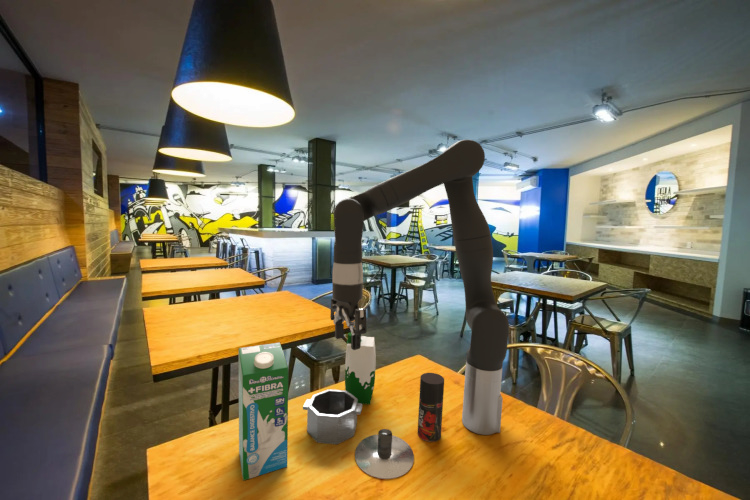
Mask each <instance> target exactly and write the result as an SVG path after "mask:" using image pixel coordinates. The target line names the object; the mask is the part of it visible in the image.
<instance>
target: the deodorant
mask: <svg viewBox="0 0 750 500" xmlns="http://www.w3.org/2000/svg"><path fill="white" fill-rule="evenodd" d="M419 380H420V381H419V400H418V401H419V402H418V416H417V435H418V437H419V439H421V440H422V441H425V442H428V443H436V442H438V441H440V439H441V436H442V427H443V426H442V425H443V424H442V423H443V408H444V407H443V406H444V394H445V393H444V391H445V378H444V377H443V376H442V375H440V374H438V373H435V372H425V373H422V374H420V379H419Z"/></svg>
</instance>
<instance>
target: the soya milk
mask: <svg viewBox="0 0 750 500" xmlns="http://www.w3.org/2000/svg"><path fill="white" fill-rule="evenodd" d="M351 335H352V334H351V331H349V332H348V333H347V339H346V351H345V362H344V363H345V365H344V366H345V368H344V390H345V391H348V392H349V393H351V394H352V395H353V396H355V397H356V398H357V399H358V401H357V403H362V405H371V403H372V399H373V394H374V393H373V392H374V389H375V383H376V363H377V361H376V359H377V357H376V353H377V352H376V343H375V336H365V335H361V341H360V342H361V346H360V349H357V350H353V349H351Z"/></svg>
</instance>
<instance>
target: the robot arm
mask: <svg viewBox="0 0 750 500" xmlns="http://www.w3.org/2000/svg"><path fill="white" fill-rule="evenodd" d="M485 157H486V154H485V151H484V148H483V146H482V145H481V144H480V143H479V142H477V141H476V140H473V139H461V140H458V141H456V142H454V143H453V144H451V145H450V146H448V147H447V148H446V149H445V150H444V151H443V152H442V153H440V154H439V155H438V156H436V157H434V158H433V159H431V160H428V161H427V162H425V163H423V164H420V165H418V166H416V167H414V168H412V169H409V170H407V171H405V172H402V173H399V174H397V175H395V176H393V177H391V178H388V179H386V180H384V181H381V182H379V183H377V184H375V185H373V186H371V187H370V188H368V189H367V190H365V191H364V192H361V193H358V194H356V195H354V196H351V197H349V198H345V199H341V200H339V202H338V203H337V204H336V205H335V207H334V210H333V219H334V220H333V221H334V227H333V228H334V244H333V266H332V295H331V297H332V298H331V299H330V315H329V316H330V318H329V319H330V321H333V324H334V338H335V339H336V340H339V339H343V338H344V335H345V334H344V330H345V329H344V327H345V326H344V325H345V324H344V323H346V326H347V327H348V328H349V329H350V332H351V334H352V335H351V349H353V350H357V349H360V346H361V342H360V341H361V336H362V334H363V335H365V334H367V332H368V331H367V329H368V328H367V309H366V308H360V306H359V302H360V301H361V300H362V299H363V297H364V295H363V293H364V292H363V289H364V288H363V287H364V282H363V281H364V280H363V279H364V271H363V242H362V240H363V234H364V233H363V232H364V221H367V220H369V219H371V218H373V217H375V216H377V215H382V214H384V213H387V212H389V211H391V210H393V209H395V208H397V207H399V206H401V205H404V204H406V203H407V202H410V201H411V200H413V199H415V198H417V197H419V196H421V195H422V194H424V193H426V192H428V191H430V190H432V189H434V188H436V187H438V186H441V185H444V189H445V190H444V191H445V193H446V197H447V200H448V207H449V215H450V219H451V220H450V222H451V227H452V235H453V241H454V242H453V243H454V247H455V253H456V257H457V259H456V260H457V263H458V267H459V268H458V269H459V272H460V276H461V280H462V284H463V287H464V299H465V318H466V319H465V320H466V323H467V325H468V327H469V329H470V330H471V334H470V335H471V337H470V346H469V347H470V348H468V349H467V350H466V356H465V372H464V373H465V374H464V386H463V387H464V389H463V399H462V400H463V401H462V403H463V404H462V413H461V417H462V418H461V423H462V425H463V426H464V427H465V428H466V429H467V430H469V431H470V432H473V433H475V434H478V435H484V436H489V435H493V434H495V433H501V424H502V413H503V411H502V410H503V401H504V400H503V396H502V394H501V391H502V390H501V389H502V380H503V379H502V376H503V365H504V361H505V359H506V357H507V350H508V344H509V335H510V323H509V319H508V317H507V315H506V313H505V312H504V311H502V309H500V308H499V307H498V305H497V303H496V298H495V296H494V291H493V285H492V270H493V266H494V265H493V264H494V263H493V262H494V249H493V248H494V247H493V241H492V236H491V235H492V234H491V230H490V229H491V228H490V226H489V224H488V221H487V219H486V217H485V215H484V213H483V211H482V209H481V208H480V205H479V204H478V201H477V199H476V194H475V190H474V183H473V181H474V180H473V176H476V174H477V173H479V171H480V170H481V169H482V168H483V167H484V163H485V160H486V159H485Z"/></svg>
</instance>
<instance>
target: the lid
mask: <svg viewBox="0 0 750 500" xmlns="http://www.w3.org/2000/svg"><path fill="white" fill-rule="evenodd" d="M354 451H355V452H354V458H355V459H354V460H355V463H356V464H357V466H358V468H359V469H360V470H361V471H362V472H364V473H365V474H367V475H369V476H371V477H372V478H373V477H374V478H376V479H383V480H390V479H396V478H400V477H402V476H403V475H405V474H406V473H408V472H409V471H410V470H411V469H412V467H413V465H414V460H415V455H414V450H413V449H412V447H411V445H410V444H409V443H408V442H407V441H405V440H404V439H402V438H400V437H399V436H395V435H393V433H392V431H391V429H388V428H382V429H379V430H378V433H377V434H372V435H369V436H367V437H365V438H364V439H362V440H360V442H359V443H358V444H357V446H356V447H355V450H354Z"/></svg>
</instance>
